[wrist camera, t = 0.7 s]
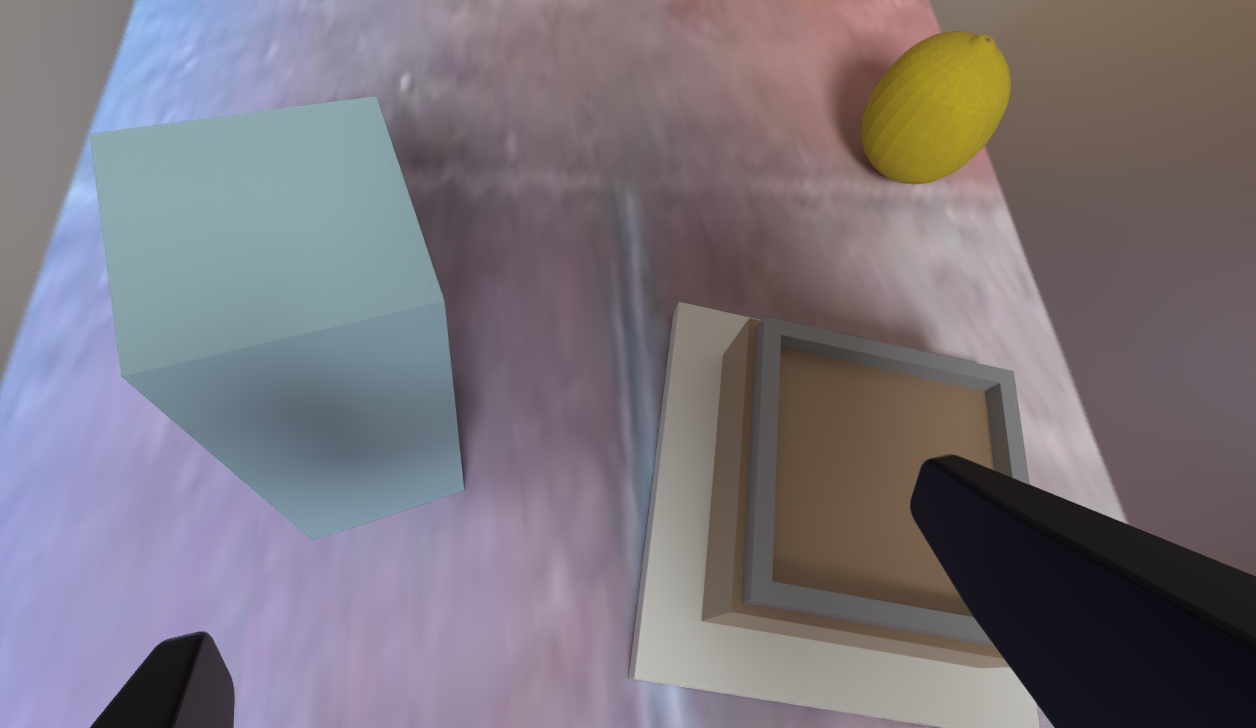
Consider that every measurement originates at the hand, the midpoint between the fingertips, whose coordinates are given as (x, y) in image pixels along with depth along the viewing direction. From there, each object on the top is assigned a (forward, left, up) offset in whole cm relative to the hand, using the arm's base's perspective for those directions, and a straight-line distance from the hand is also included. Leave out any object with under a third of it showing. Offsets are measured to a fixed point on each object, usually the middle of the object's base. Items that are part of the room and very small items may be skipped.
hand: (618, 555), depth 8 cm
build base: (+6, -10, -15) cm, 19 cm away
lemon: (+24, -13, -15) cm, 32 cm away
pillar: (+5, +7, -15) cm, 18 cm away
